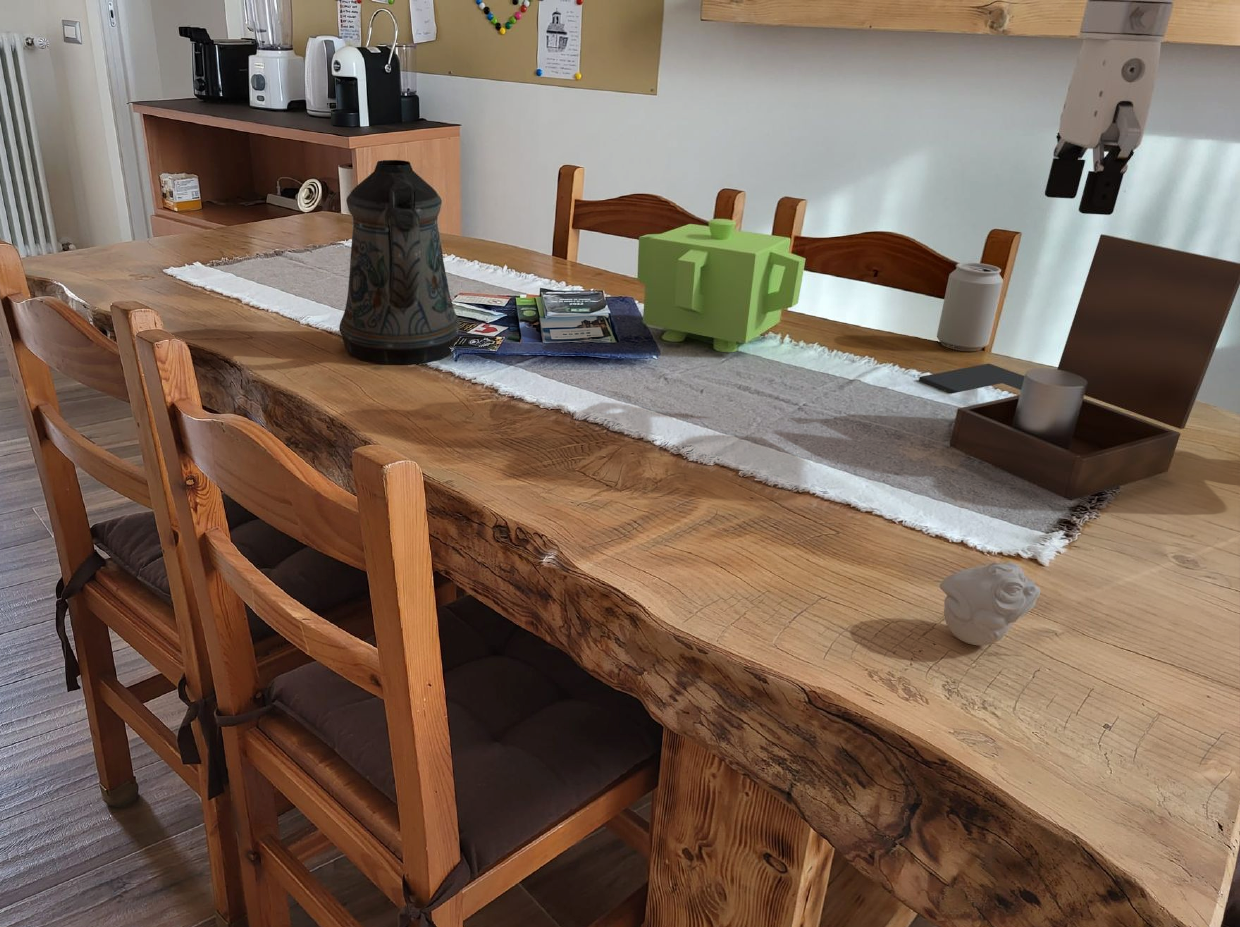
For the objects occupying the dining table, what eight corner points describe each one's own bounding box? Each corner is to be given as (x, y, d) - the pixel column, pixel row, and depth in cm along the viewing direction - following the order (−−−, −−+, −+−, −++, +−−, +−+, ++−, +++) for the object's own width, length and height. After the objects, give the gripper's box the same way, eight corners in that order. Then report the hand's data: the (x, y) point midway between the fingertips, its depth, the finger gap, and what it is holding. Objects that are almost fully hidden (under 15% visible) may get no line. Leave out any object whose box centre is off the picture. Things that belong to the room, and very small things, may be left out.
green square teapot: (814, 334, 154) (832, 220, 146) (761, 372, 136) (777, 245, 129) (668, 307, 165) (677, 199, 157) (601, 339, 148) (608, 220, 140)
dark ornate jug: (415, 324, 151) (410, 150, 140) (496, 356, 139) (497, 168, 127) (318, 343, 141) (304, 157, 130) (396, 380, 128) (388, 178, 117)
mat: (987, 367, 142) (988, 363, 142) (1075, 398, 131) (1076, 394, 131) (918, 380, 136) (919, 376, 135) (1004, 414, 125) (1005, 410, 124)
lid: (1243, 264, 99) (1268, 264, 101) (1100, 234, 111) (1125, 235, 113) (1180, 429, 106) (1204, 425, 108) (1052, 384, 118) (1076, 381, 120)
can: (997, 348, 150) (1016, 268, 145) (967, 355, 146) (985, 274, 141) (955, 335, 156) (972, 258, 150) (925, 342, 152) (941, 263, 147)
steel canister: (1027, 449, 113) (1049, 365, 108) (1074, 469, 108) (1100, 382, 103) (991, 459, 110) (1013, 372, 105) (1038, 480, 105) (1063, 390, 101)
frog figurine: (1022, 672, 75) (1045, 593, 72) (925, 649, 77) (944, 571, 74) (1022, 632, 80) (1044, 556, 77) (932, 611, 82) (949, 537, 79)
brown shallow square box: (1069, 507, 101) (1083, 459, 99) (947, 452, 113) (957, 408, 111) (1165, 477, 109) (1181, 432, 107) (1042, 428, 121) (1053, 387, 119)
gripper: (1208, 26, 89) (1149, 222, 97) (1126, 24, 104) (1081, 193, 112) (1121, 23, 89) (1070, 218, 97) (1052, 21, 105) (1013, 190, 112)
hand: (1076, 205), depth 105 cm, fingers open, 9 cm apart
